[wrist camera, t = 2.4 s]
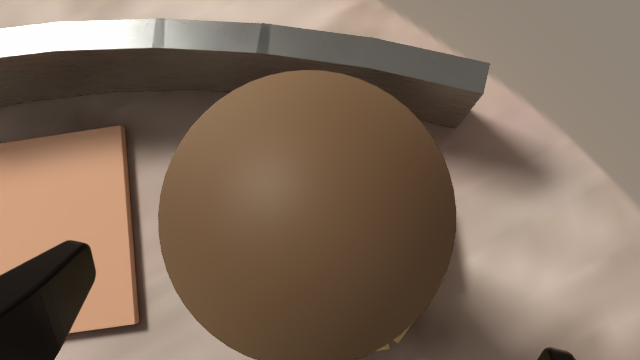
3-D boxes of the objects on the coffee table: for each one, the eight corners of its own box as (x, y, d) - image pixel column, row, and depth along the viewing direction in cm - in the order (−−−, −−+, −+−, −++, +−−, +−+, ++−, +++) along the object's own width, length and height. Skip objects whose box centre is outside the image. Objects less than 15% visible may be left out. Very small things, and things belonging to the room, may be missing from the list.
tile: (139, 322, 19) (135, 323, 18) (-57, 349, 19) (-65, 351, 19) (124, 127, 20) (120, 125, 20) (-59, 155, 20) (-67, 153, 20)
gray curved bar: (524, 427, 17) (574, 474, 14) (-51, 499, 18) (-162, 565, 14) (443, 12, 20) (467, -49, 16) (-56, 91, 21) (-150, 50, 17)
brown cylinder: (451, 335, 18) (697, 508, 5) (249, 362, 18) (18, 588, 6) (417, 137, 19) (547, -109, 7) (228, 164, 20) (-2, -19, 7)
